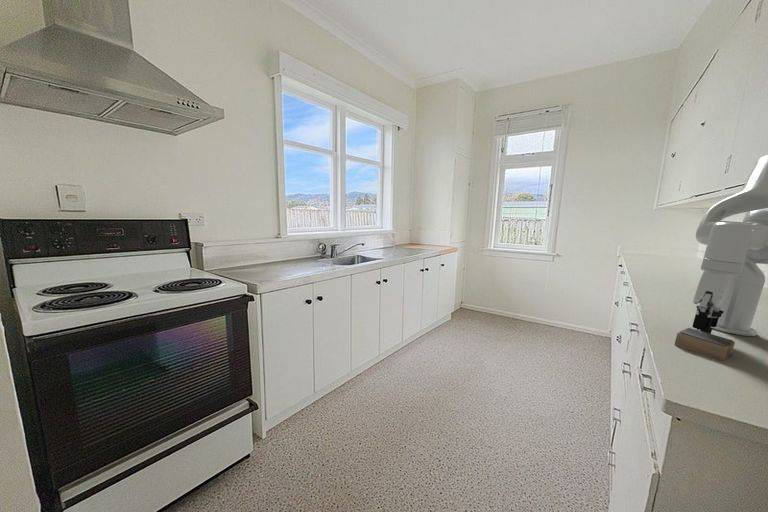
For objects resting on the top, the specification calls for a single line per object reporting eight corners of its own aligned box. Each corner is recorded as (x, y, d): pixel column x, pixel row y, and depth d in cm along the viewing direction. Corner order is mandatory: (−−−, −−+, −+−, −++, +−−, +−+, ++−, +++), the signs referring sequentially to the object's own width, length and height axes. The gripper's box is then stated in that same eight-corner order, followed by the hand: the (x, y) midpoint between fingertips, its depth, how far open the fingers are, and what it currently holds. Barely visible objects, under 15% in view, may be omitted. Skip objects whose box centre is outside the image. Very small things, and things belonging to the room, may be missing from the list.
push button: (711, 345, 82) (721, 310, 80) (684, 337, 86) (693, 304, 84) (717, 340, 85) (726, 307, 83) (691, 332, 90) (700, 301, 88)
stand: (684, 339, 84) (687, 326, 84) (731, 354, 77) (735, 340, 76) (674, 344, 80) (677, 331, 80) (722, 361, 73) (727, 346, 72)
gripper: (711, 262, 89) (695, 318, 93) (692, 265, 80) (675, 327, 84) (749, 268, 83) (731, 327, 86) (733, 272, 74) (714, 338, 77)
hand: (704, 326), depth 85 cm, fingers open, 6 cm apart
